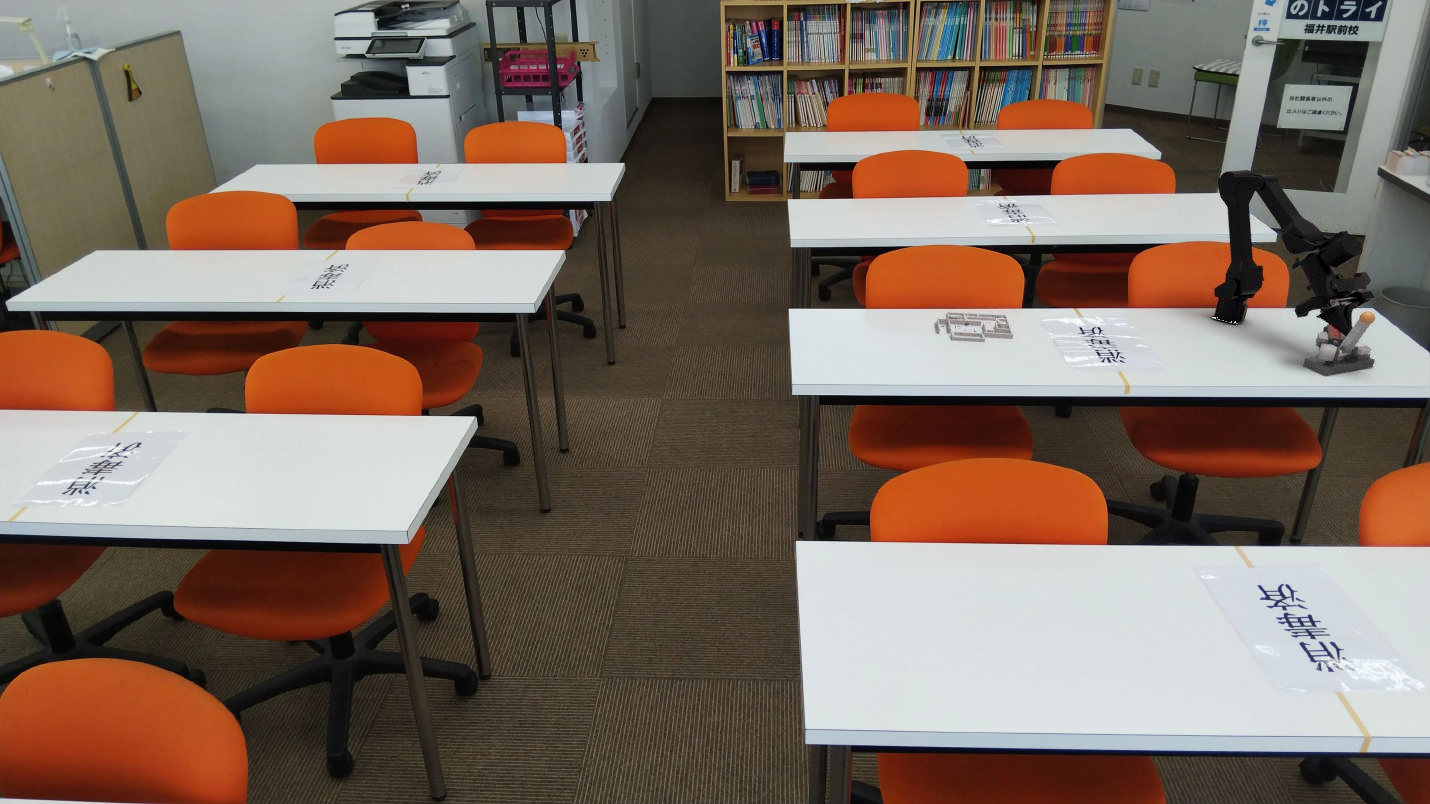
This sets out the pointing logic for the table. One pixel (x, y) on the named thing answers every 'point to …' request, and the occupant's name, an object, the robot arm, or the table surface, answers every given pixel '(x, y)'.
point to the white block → (1362, 348)
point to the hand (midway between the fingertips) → (1349, 336)
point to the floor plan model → (1001, 328)
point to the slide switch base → (1340, 363)
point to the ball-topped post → (1356, 334)
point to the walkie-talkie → (1330, 336)
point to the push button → (1327, 352)
